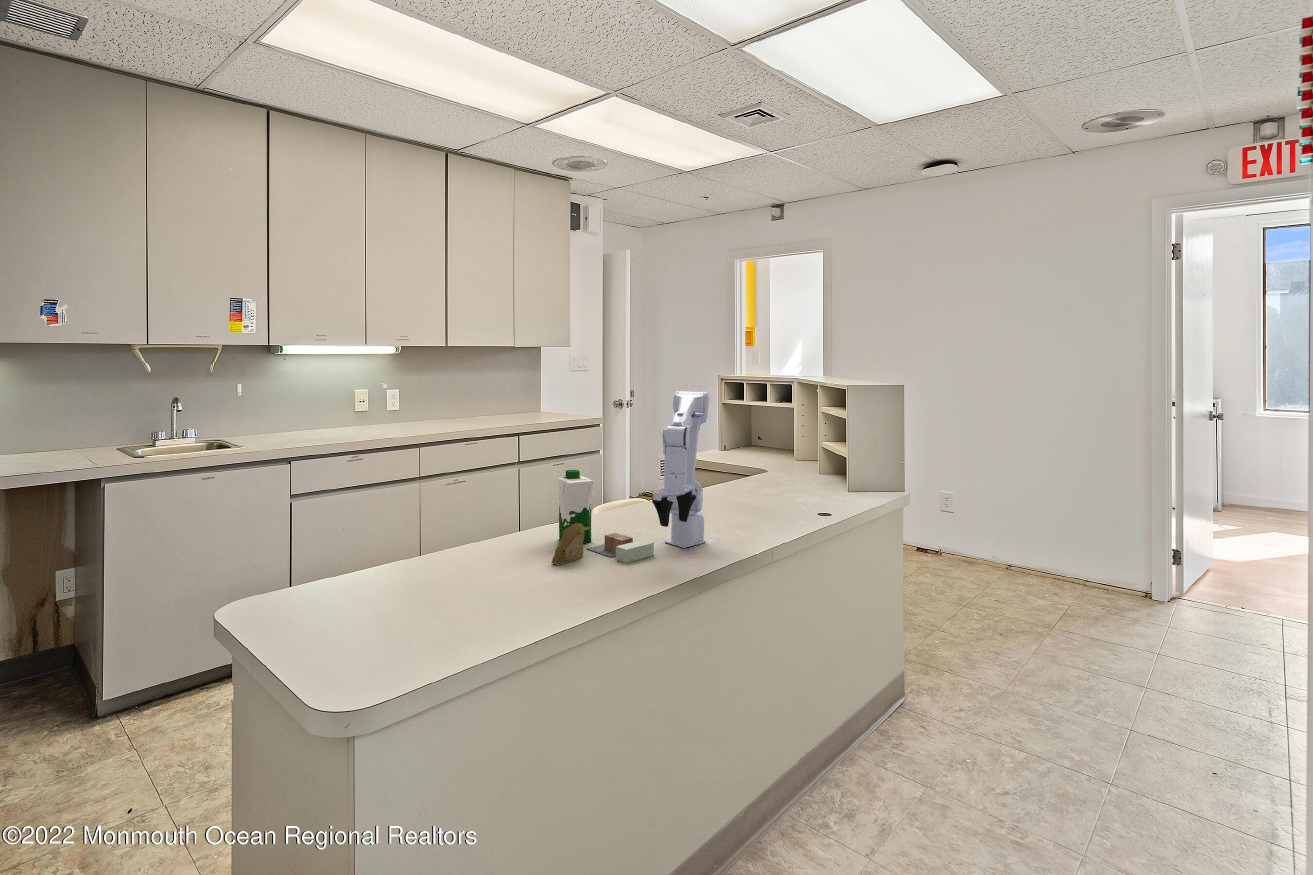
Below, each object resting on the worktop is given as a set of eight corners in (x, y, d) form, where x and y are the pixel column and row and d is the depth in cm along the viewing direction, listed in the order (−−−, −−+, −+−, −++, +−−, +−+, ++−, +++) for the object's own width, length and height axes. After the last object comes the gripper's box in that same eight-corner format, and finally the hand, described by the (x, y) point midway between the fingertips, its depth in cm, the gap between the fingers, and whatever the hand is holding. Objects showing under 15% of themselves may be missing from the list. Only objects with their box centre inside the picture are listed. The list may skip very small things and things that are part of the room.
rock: (557, 560, 170) (593, 550, 175) (546, 529, 173) (582, 520, 178) (548, 575, 179) (583, 565, 184) (537, 545, 182) (572, 536, 187)
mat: (616, 542, 196) (616, 541, 196) (640, 549, 189) (640, 548, 189) (586, 549, 189) (586, 548, 189) (610, 557, 182) (610, 556, 181)
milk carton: (582, 535, 203) (583, 468, 201) (595, 542, 195) (596, 473, 193) (554, 538, 199) (555, 470, 196) (567, 546, 191) (567, 475, 188)
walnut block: (632, 552, 186) (615, 546, 191) (632, 537, 185) (615, 532, 190) (621, 555, 183) (604, 549, 188) (621, 540, 182) (604, 535, 187)
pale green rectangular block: (643, 552, 187) (643, 539, 187) (653, 555, 184) (653, 542, 184) (615, 559, 180) (615, 546, 180) (626, 562, 177) (626, 549, 177)
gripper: (681, 467, 185) (679, 516, 187) (644, 473, 175) (643, 525, 176) (701, 470, 181) (700, 520, 182) (665, 477, 170) (664, 530, 172)
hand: (673, 523), depth 179 cm, fingers open, 7 cm apart
